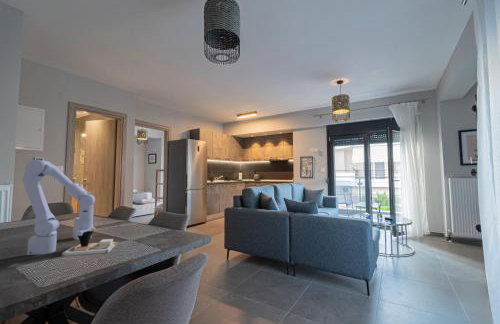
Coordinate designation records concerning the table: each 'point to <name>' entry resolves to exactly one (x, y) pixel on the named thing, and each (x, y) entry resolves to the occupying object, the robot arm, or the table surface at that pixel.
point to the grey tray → (70, 253)
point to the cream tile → (105, 242)
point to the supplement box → (76, 228)
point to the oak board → (96, 245)
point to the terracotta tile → (82, 248)
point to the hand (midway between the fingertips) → (84, 247)
